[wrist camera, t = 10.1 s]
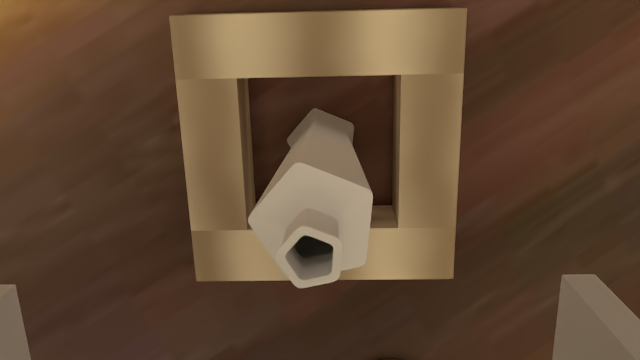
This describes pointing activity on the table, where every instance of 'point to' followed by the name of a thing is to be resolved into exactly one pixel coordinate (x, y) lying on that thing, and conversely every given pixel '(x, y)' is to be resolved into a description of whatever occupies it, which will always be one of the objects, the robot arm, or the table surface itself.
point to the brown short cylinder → (389, 359)
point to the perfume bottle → (316, 204)
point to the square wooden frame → (314, 61)
